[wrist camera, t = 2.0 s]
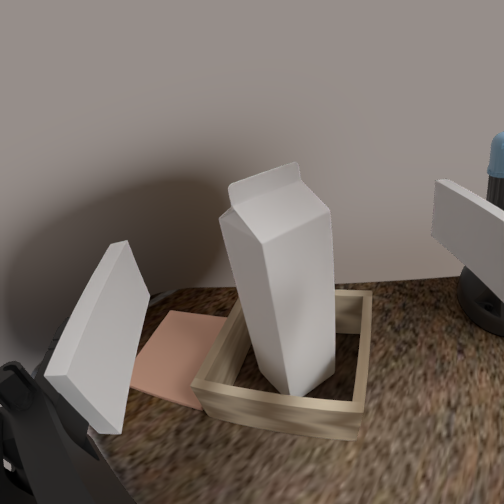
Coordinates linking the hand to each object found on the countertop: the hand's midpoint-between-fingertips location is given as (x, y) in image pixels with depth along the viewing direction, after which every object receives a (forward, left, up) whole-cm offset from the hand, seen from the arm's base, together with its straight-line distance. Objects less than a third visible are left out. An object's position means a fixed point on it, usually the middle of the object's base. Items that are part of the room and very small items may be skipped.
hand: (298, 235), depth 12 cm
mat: (+19, -9, -22) cm, 30 cm away
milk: (+4, -9, -22) cm, 24 cm away
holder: (+4, -9, -22) cm, 24 cm away
